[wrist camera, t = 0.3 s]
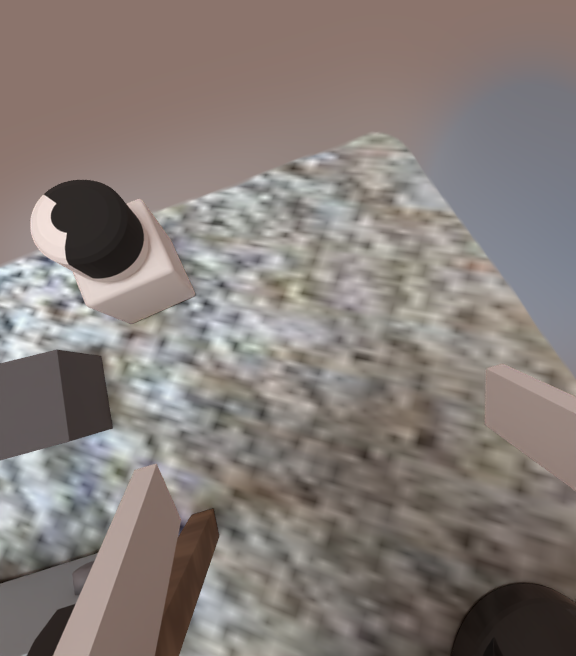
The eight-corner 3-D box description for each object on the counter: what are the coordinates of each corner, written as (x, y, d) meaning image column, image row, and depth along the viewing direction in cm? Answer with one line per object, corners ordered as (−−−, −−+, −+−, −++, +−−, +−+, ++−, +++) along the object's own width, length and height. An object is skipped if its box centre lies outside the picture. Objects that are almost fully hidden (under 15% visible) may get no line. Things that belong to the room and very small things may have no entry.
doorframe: (219, 536, 26) (159, 713, 12) (-66, 627, 23) (-542, 977, 10) (213, 508, 26) (148, 649, 12) (-67, 595, 24) (-528, 887, 10)
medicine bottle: (170, 237, 31) (106, 148, 19) (197, 296, 30) (147, 240, 18) (104, 264, 30) (-5, 188, 18) (130, 325, 29) (32, 287, 17)
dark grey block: (113, 428, 27) (69, 441, 21) (46, 446, 26) (-18, 465, 21) (101, 356, 28) (56, 349, 22) (37, 372, 28) (-27, 369, 22)
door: (149, 557, 25) (54, 692, 14) (-17, 610, 24) (-262, 805, 13) (143, 521, 25) (47, 626, 15) (-20, 571, 24) (-259, 728, 13)
